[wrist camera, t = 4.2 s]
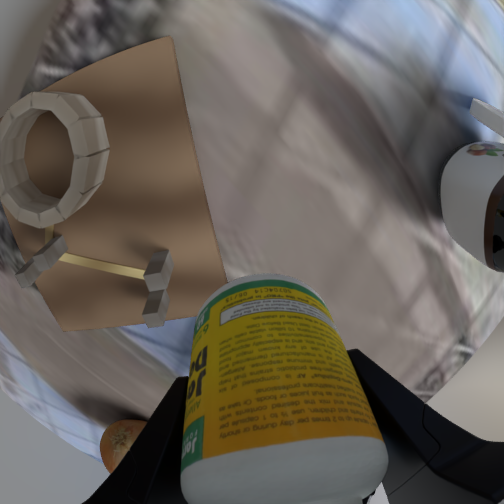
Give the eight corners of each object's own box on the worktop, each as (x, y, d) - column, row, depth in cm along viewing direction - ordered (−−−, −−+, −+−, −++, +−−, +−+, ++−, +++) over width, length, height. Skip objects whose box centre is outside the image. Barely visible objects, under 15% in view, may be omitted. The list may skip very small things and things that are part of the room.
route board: (232, 302, 23) (234, 336, 19) (67, 325, 23) (51, 353, 19) (173, 39, 14) (158, 21, 10) (-9, 129, 14) (-40, 138, 10)
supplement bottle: (317, 361, 13) (371, 551, 4) (204, 369, 12) (201, 573, 4) (334, 262, 10) (467, 526, 2) (185, 270, 10) (143, 587, 1)
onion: (150, 403, 29) (140, 474, 20) (186, 436, 34) (183, 496, 25) (94, 406, 30) (77, 466, 21) (133, 438, 34) (125, 491, 26)
